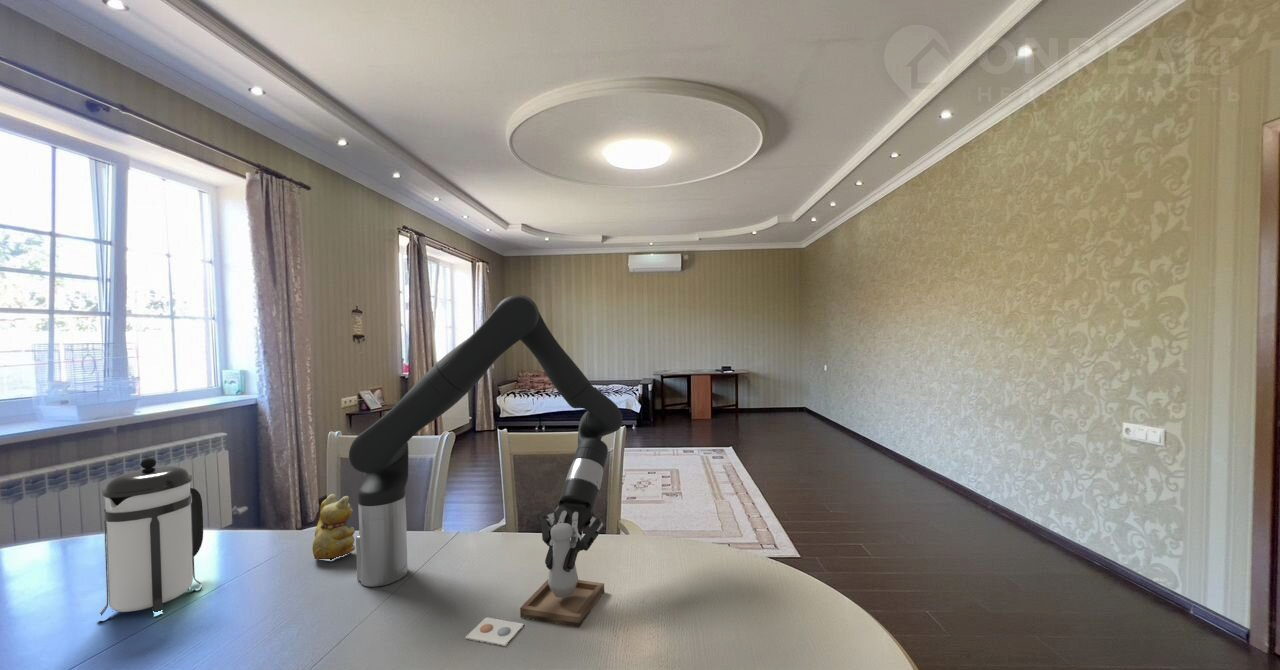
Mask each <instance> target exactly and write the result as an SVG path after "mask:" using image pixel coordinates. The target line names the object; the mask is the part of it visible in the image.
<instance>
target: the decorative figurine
mask: <svg viewBox="0 0 1280 670" xmlns="http://www.w3.org/2000/svg"><path fill="white" fill-rule="evenodd" d="M349 502H350V497H349V496H348V495H345V496H342V498H340V499H339V500H337V496H336V494H335V493H330V494H329V495H328V496H327V497H326V499H324V500H322V502H321V504H320V511H319V514H320V515H319V520H318V521H317V525H316V527H315V531H314V539H313V542H312V554H313V557H314V558H313V559H315V560H316V561H320V560H319V559H330V560H332V559H334V558H336V557H339V556H343V555H345V554H348V553H350V554H351V552H353V551H355V550H356V545H354V544H355V541H356V538H355V537H354V534H355V531H356V529H355V528H354V527H353V526H349V525H348V524H347V522H348V521H349V520H350V519H351V517H352V516H353V513H354V512H353V508H352V507H351V504H350V503H349Z"/></svg>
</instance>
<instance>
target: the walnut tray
mask: <svg viewBox="0 0 1280 670" xmlns="http://www.w3.org/2000/svg"><path fill="white" fill-rule="evenodd" d="M604 594H605V583H604V582H597V581H591V580H584V579H583V580H581V579H578V583H577V585H576V587H575V589H574V592H573V594H572V595H570V596H568V597H565V598H562V597H555V595H554V593H553V592H552V590H551V589H550V587H549V583H548V579H547V580H546V581H545V582H544V583H542V585H541V586H539V588H538V589H537V590H536V591H535V592H534V593H533V594H532V595H531V596H530V597H529V598H528V599H527V600H526V601H525V602H524V603H523V604H522V606H520V607H519V615H520V617H524V618H523V619H526V618H529V619H528V620H532V619H534V620H533V621H539V622H544V623H545V622H546V623H549V622H550V623H551V624H555V623H557V625H561V624H562V626H567V627H568V626H569V627H574V628H580V627H581V626H582V624H583V623H584V622H585V620H586V619H587V617H588V616H589V615H590V613H591V612H592V611H593V609H594V608H595V606H596V605H597V603H598V602H599V600H600V599H601V598H602V596H604Z"/></svg>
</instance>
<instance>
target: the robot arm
mask: <svg viewBox="0 0 1280 670" xmlns="http://www.w3.org/2000/svg"><path fill="white" fill-rule="evenodd" d="M519 341H520V342H522V343H523V344H524V345H525V346H526V348H527V349H528V350H529V351H530V352H531V354H533V356H534V357H535V359H536V360H537V362H538V363H539V365H540V366H541V368H542V370H543V371H544V373H545V374H546V376H547V378H548V379H549V381H550V382H551V383H552V385H553V386H554V388H555V389H556V390H557V392H558V393H559V395H560V396H562V398H563V400H565V402H566V403H567V404H568V405H569V406H570V407H571V408H573V409H584V410H585V412H584V414H582V416H581V418H580V420H579V423H578V434H577V448H576V452H575V454H574V457H573V459H572V460H573V461H572V463H571V466H570V467H569V469H568V472H567V475H566V478H565V482H564V485H563V488H562V491H561V494H560V497H559V500H558V501H559V502H558V505H557V507H556V508H555V510H554V511H553V512H552V513H549V514H547V513H542V514H541V515H540V521H541V522H540V523H541V526H540V527H541V535H542V542H543V543H545V545H547V546H548V550H547V553H546V556H545V559H544V563H545V565H546V568H547V569H548V571H549V570H551V569H552V558H553V542H554V540H552V538H551V533H550V532H551V528H552V527H553V526H554V521H555V522H556V524H559V523H568V524H570V525H571V526H572V530H573V536H572V537H571V538H570V541H571V543H570V547H571V549H569V551H568V553H567V555H566V558H565V562H564V565H563V569H564V571H566V572H570V570H571V569H573V568H574V565H575V566H576V561H577V558H578V557H577V556H578V553H579V552H581V551H585V552H586V551H588V550H589V549H590V548H591V546H592V545H593V543H594V542H595V540H596V539H597V537H598V536H599V534H600V533H601V532H602V530H603V529H604V523H603V522H602V521H601V519H600V518H596V517H595V516H594V510H595V508H596V504H597V500H598V497H599V493H600V489H601V487H602V481H603V475H604V474H603V473H604V469H605V465H606V462H607V459H608V458H607V457H608V451H609V450H608V445H607V444H606V443H605V442H604V441H603V440H602V438H603V437H605V436H607V435H610V434H612V433H616V432H617V431H619V429H621V427H622V426H623V420H624V419H623V413H622V412H621V409H620V408H619V406H617V404H616V403H615V402H614V401H613V400H611V398H609V397H608V396H606V395H605V394H604V393H602V392H601V391H600V390H599V389H597V388H596V387H594V386H593V385H592V383H591V382H590V381H589V379H588V378H587V376H586V375H585V374H584V373H583V371H582V370H581V369H580V368H579V367H578V365H577V364H576V363H575V362H574V361H573V360H572V358H571V357H570V356H569V355H568V353H567V352H566V351H565V350H564V349H563V347H562V346H561V345H560V344H559V342H558V341H557V339H556V338H555V336H553V334H552V332H551V331H550V330H549V327H548V326H547V324H546V322H545V321H544V319H543V317H542V315H541V314H540V311H539V308H538V306H537V304H536V303H535V301H534V300H533V299H532V298H530V297H528V296H526V295H524V294H515V295H514V294H512V295H510V296H507V297H505V298H504V299H502V300H501V301H500V302H499V303H498V304H497V306H496V307H495V309H494V310H492V312H491V313H490V314H489V316H488V317H487V318H486V319H485V321H483V322H482V324H481V325H480V326H479V327H478V329H476V330H475V332H473V334H471V336H468V338H466V339H465V340H464V341H462V342H461V343H460V344H458V345H457V346H456V347H454V348H453V349H452V350H450V351H448V353H447V354H445V355H444V356H443V357H442V358H441V359H439V360H438V361H437V362H436V363H435V364H434V365H433V366H432V367H431V368H430V369H429V370H428V371H427V372H425V374H424V375H423V376H422V377H421V378H420V379H419V380H418V381H416V383H415V384H414V385H413V386H412V387H411V388H410V389H409V390H408V391H407V392H406V393H405V394H404V395H403V396H402V398H400V400H399V401H397V403H396V404H395V405H394V406H393V407H392V408H391V409H390V410H389V411H388V412H386V413H385V414H384V415H383V416H382V417H380V418H379V419H378V420H377V421H375V422H374V423H373V424H372V425H370V426H369V427H368V428H366V429H365V430H364V431H362V432H360V433H359V434H358V435H357V436H356V437H355V439H354V440H353V441H352V443H351V445H350V447H349V451H348V459H349V463H350V465H351V466H352V468H353V469H354V470H356V471H358V472H360V473H364V474H365V477H364V480H363V482H362V484H361V486H360V488H359V489H358V493H357V503H358V504H357V505H358V506H357V507H358V533H359V534H358V535H357V536H356V537H355V550H356V551H355V552H356V580H357V581H360V583H361V585H362V586H363V587H364V586H365V587H371V588H373V587H380V586H386V585H390V584H393V583H394V582H397V581H399V580H401V579H402V578H403V577H405V576H406V575H407V574H408V570H409V569H408V568H409V566H408V543H407V542H408V538H407V535H408V534H407V533H408V532H407V507H406V505H407V503H406V502H407V501H406V486H407V483H408V480H409V443H408V442H409V441H410V440H411V439H412V437H414V436H415V435H416V434H417V433H418V432H419V431H421V430H422V429H423V428H425V427H427V426H428V425H429V424H430V423H432V422H434V421H436V419H439V417H441V416H442V415H444V414H445V413H446V412H447V411H448V410H450V409H451V408H453V406H455V405H456V404H458V402H459V401H460V400H461V399H462V398H464V397H465V395H467V394H468V392H469V391H471V390H472V389H473V388H474V386H476V384H477V383H478V382H479V381H480V380H481V378H482V377H484V375H485V374H486V372H487V371H488V370H489V368H490V367H492V365H493V364H494V362H496V360H497V359H498V358H499V357H500V356H501V355H503V354H504V353H505V352H506V351H508V350H509V349H510V348H511V347H512V346H513V345H515V344H517V342H519ZM588 526H589V528H588ZM586 528H588V530H587V531H586V532H585V534H584V532H583V531H584V530H585V529H586Z"/></svg>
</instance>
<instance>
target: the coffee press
mask: <svg viewBox="0 0 1280 670" xmlns="http://www.w3.org/2000/svg"><path fill="white" fill-rule="evenodd" d="M156 463H157V460H156V459H155V458H154V457H145V458H144V459H143V460H142V461H141V462H140V464H139V465H140V467H141V468H143V469H137V470H134V471H130V472H127V473H122V474H120V475H118V476H115V477H114V478H112V479H111V480H110V481H109V482H108V483H107V484H106V486H105V488H104V489H102V491H101V496H102V498H104V502H105V508H104V510H103V527H104V533H103V534H104V553H105V555H104V557H105V559H104V560H105V584H106V585H105V587H106V588H105V589H106V591H105V592H106V604H105V606H104V607H103V608H102V610H101V611H100V612H99V614H101V616H102V615H104V613H105V612H106V611H107V609H108V606H109V607H110V609H112V610H113V611H114V610H115V611H118V612H123V613H125V612H126V613H128V612H137V611H142V610H146V609H150V608H151V607H152V608H153V611H154V612H158V611H161V610H163V611H164V605H163V604H164V603H168V602H170V601H172V600H174V599H176V598H178V597H180V596H181V595H182V594H184V593H185V592H187V591H188V590H189V587H190V588H191V586H192V584H193V580H194V581H195V582H196V583H198V584H199V585H200V584H202V582H201V581H199V580H197V579H196V576H195V556H197V554H198V553H199V551H200V549H201V547H202V544H203V540H204V514H203V513H204V512H203V499H202V497H201V496H202V495H201V493H200V492H199V491H198V489H196V488H193V487H192V488H191V483H192V480H193V475H191V474H190V473H189V471H188V470H187V469H186V468H183V467H180V466H175V465H173V466H172V465H171V466H156V467H155V465H156ZM152 608H151V609H152Z"/></svg>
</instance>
